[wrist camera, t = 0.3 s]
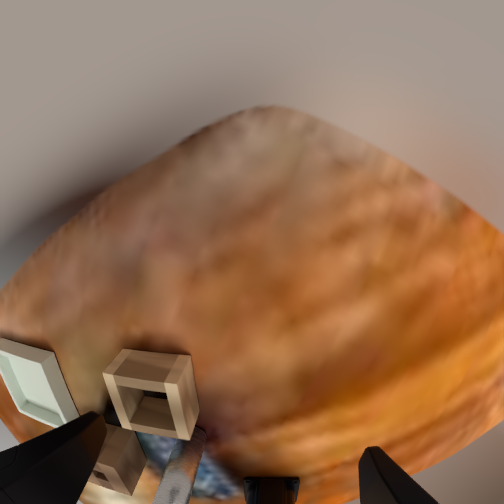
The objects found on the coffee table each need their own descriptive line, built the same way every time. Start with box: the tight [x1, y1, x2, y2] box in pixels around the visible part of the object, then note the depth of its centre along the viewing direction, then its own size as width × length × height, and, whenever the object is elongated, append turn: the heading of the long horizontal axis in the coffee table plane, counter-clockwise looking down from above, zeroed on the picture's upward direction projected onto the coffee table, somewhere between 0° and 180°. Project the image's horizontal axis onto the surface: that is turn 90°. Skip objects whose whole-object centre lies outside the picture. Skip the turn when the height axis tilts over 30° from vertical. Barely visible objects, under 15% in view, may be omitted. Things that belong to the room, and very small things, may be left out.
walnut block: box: [88, 423, 147, 496], centre depth 24 cm, size 6×6×6 cm
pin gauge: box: [152, 426, 207, 504], centre depth 21 cm, size 3×3×10 cm
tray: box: [0, 338, 80, 428], centre depth 25 cm, size 10×10×2 cm
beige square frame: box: [103, 349, 200, 440], centre depth 22 cm, size 6×6×4 cm
